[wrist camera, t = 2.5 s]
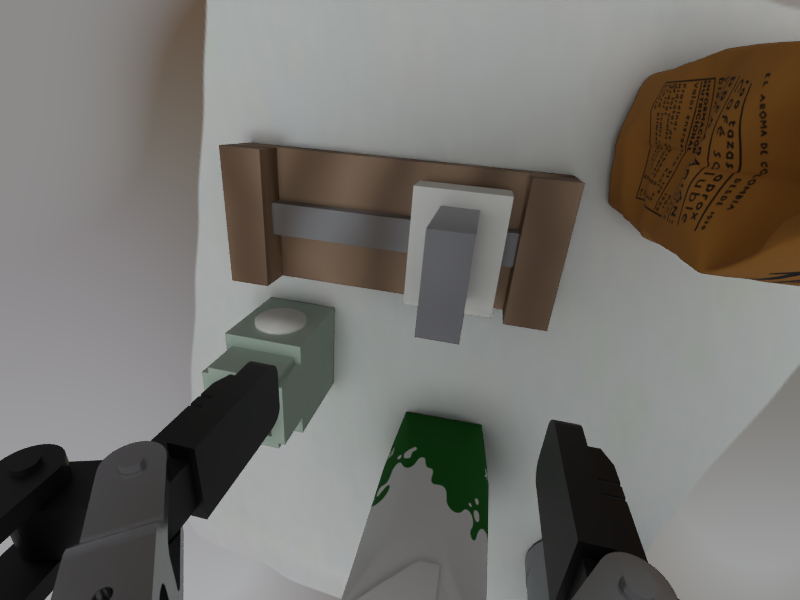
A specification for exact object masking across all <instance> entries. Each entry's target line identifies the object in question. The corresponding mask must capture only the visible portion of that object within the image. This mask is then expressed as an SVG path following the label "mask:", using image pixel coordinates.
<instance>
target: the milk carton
mask: <svg viewBox="0 0 800 600" xmlns="http://www.w3.org/2000/svg"><path fill="white" fill-rule="evenodd" d="M487 550H488V475H487V467H486V458H485V450H484V441H483V433H482V425H478V424H472V423H466V422H461V421H455V420H449V419H444V418H438V417H432V416H427V415H421V414H415V413H410V412H406V414H405V417H404V419H403V421H402V424H401V426H400V429H399V431H398V434H397V436H396V439H395V441H394V443H393V446H392V448H391V451H390V453H389V456H388V458H387V461H386V464H385V467H384V470H383V473H382V476H381V479H380V482H379V485H378V488H377V491H376V494H375V497H374V501H373V504H372V507H371V510H370V513H369V516H368V519H367V522H366V526H365V529H364V532H363V535H362V538H361V541H360V544H359V547H358V551H357V554H356V557H355V560H354V563H353V566H352V569H351V573H350V576H349V578H348V581H347V584H346V587H345V590H344V593H343V596H342V599H341V600H486V595H487Z"/></svg>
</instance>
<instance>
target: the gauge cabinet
mask: <svg viewBox="0 0 800 600" xmlns="http://www.w3.org/2000/svg"><path fill="white" fill-rule="evenodd" d="M225 335H226V344H227V351H226V352H225V353H224V354H223V355H221V356H220V357H219V358H218V359H217V360H215V361H214V362H213V363H212V364H211V365H210V366H208V367H207V368H206V369H205V370H204V371H203V372H202V376H203V382H204V389H205V390H206V389H207V388H208V387H209V386H210V385H211V384H213V383H214V382H216V381H218V380H220V379H222V378H224V377H226V376H227V375H229V374H232V375H236V374H237V373H238V372H239V371H240V370H241V369H242V368H243V367H244V366H245V365H246V364H247V363H248V362H250V361H254V362H259V363H264V364H270V365H274V366H276V368H277V371H278V385H279V402H280V410H279V415H278V419H277V421H276V424H275V425H274V427H273V429H272V430H271V431H270V433H269V434H268V436H267V437H266V438H265V440H264V441H263V442H262V444H261V445H266V446H270V447H274V448H279V447H280V446H281V444H284V445H285V444H286V442H287V441H288V439H289V438H290V436H291V434H292V433H293V431H298V432H302V433H303V431H304V430H305V428H306V426H307V425H308V423H309V422H310V420H311V418H312V417H313V415H314V414H315V412H316V410H317V409H318V407H319V405H320V404H321V402H322V401H323V399H324V397H325V396H326V394H327V393H328V391H329V389H330V388H331V386H332V384H333V382H334V308H332V307H326V306H320V305H314V304H308V303H302V302H296V301H290V300H284V299H278V298H272V297H271V298H270V299H268V300H267V301H266V302H265V303H263V304H262V305H261V306H260V307H258V308H257V309H256V310H254V311H253V312H252V313H251V314H249V315H248V316H247V317H245V318H244V319H243V320H242V321H240V322H239V323H238V324H237V325H235V326H234V327H233V328H231V329H230V330H229V331H228V332H226V333H225Z"/></svg>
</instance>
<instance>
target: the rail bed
mask: <svg viewBox="0 0 800 600" xmlns="http://www.w3.org/2000/svg"><path fill="white" fill-rule="evenodd" d="M219 150H220V160H221V170H222V180H223V191H224V201H225V211H226V221H227V231H228V241H229V251H230V261H231V271H232V280H234V281H240V282H246V283H252V284H259V285H265V286H268V285H270V284H271V283H272V282H274V281H275V280H277V279H278V278H279V277H281V276H282V275H285V276H291V277H298V278H304V279H311V280H317V281H323V282H330V283H336V284H343V285H349V286H355V287H362V288H368V289H375V290H381V291H388V292H394V293H400V294H404V288H405V277H406V266H407V254H408V243H409V232H410V220H411V209H412V198H413V186H414V185H415V184H416V183H418V182H419V181H420V180H422V181H431V182H440V183H449V184H458V185H467V186H476V187H485V188H494V189H504V190H512V191H513V195H514V199H513V204H512V210H511V215H510V220H509V225H508V231H507V236H506V241H505V247H504V252H503V257H502V262H501V268H500V273H499V278H498V284H497V289H496V294H495V299H494V305H493V308H497V309H502V310H503V324H506V325H513V326H519V327H525V328H531V329H537V330H544V331H547V329H548V325H549V321H550V317H551V313H552V309H553V305H554V301H555V298H556V294H557V290H558V286H559V282H560V278H561V274H562V270H563V266H564V262H565V259H566V255H567V251H568V247H569V243H570V239H571V235H572V231H573V227H574V223H575V220H576V216H577V212H578V208H579V204H580V200H581V196H582V192H583V188H584V184H585V183H584V182H582V181H581V180H579V179H578V178H576V177H575V176H573V175H564V174H554V173H544V172H534V171H524V170H514V169H505V168H495V167H485V166H475V165H465V164H455V163H446V162H436V161H426V160H416V159H406V158H396V157H386V156H377V155H367V154H357V153H347V152H337V151H327V150H318V149H308V148H298V147H288V146H278V145H268V144H259V143H240V144H228V145H219Z"/></svg>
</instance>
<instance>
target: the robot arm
mask: <svg viewBox="0 0 800 600" xmlns="http://www.w3.org/2000/svg"><path fill="white" fill-rule="evenodd" d="M279 410H280V402H279V385H278V371H277V368H276V366H274V365H270V364H264V363H259V362H254V361H250V362H248V363H247V364H246V365H245V366H244V367H243V368H242V369H241V370H240V371H239V372H238V373H237V374H236V375H232V374H229V375H227V376H226V377H224V378H222V379H220V380H218V381H216V382H214V383H213V384H211V385H210V386H209V387H208V388H207V389H206V390H205V391H204V392H203V393H202V394H201V396H200V397H197V398H196V399H195V400H194V401H193V402H192V403H191V406H188V407H187V408H186V409H185V410H184V411H183V412H181V413H180V414H179V415H178V416H177V417H176V418H175V419H174V420H173V421H172V422H171V423H170V424H169V425H168V426H166V427H165V428H164V429H163V430H162V431H161V432H160V433H159V434H158V435H157V436H156V437H155V438H153V439H152V440H151V441H141V442H135V443H132V444H128V445H126V446H123V447H121V448H119V449H117V450H115V451H114V452H112V453H111V454H109V455H108V456H107V457H106V458H105V459H104V460H97V461H76V462H69V461H68V458H67V456H66V453H65V450H64V449H63V448H62V447H60V446H58V445H53V444H43V445H36V446H31V447H28V448H25V449H22V450H20V451H17V452H15V453H13V454H11V455H9V456H7V457H5V458H4V459H2V460H1V461H0V544H1V543H2V542H3V541H4V540H5V539H6V538H8V537H9V536H11V538H12V540H13V543H14V544H13V545H12V546H11V547H10V548H9V549H8V550H6V551H5V552H4V553H3V554H2V555H1V556H0V600H45V598H46V597H47V596H48V595H49V594H50V593H51V592H52V591H53V593H52V597H51V600H183V565H184V564H183V561H184V559H183V558H184V557H183V555H184V550H183V547H184V543H183V541H184V532H183V524H184V523H185V522H186V521H187V519H188V518H189V517H190V515H192V516H196V517H200V518H204V519H208V517H209V516H210V515H211V513H212V512H213V510H214V509H215V508H216V506H217V505H218V503H219V502H220V501H221V499H222V498H223V497H224V495H225V494H226V492H227V491H228V490H229V488H230V487H231V485H232V484H233V483H234V481H235V480H236V478H237V477H238V476H239V474H240V473H241V472H242V470H243V469H244V467H245V466H246V465H247V463H248V462H249V460H250V459H251V458H252V456H253V455H254V454H255V452H256V451H257V449H258V448H259V447H260V445H261V444H262V442H263V441H264V440H265V438H266V437H267V436H268V434H269V433H270V431H271V430H272V429H273V427H274V425H275V424H276V421H277V419H278V415H279ZM536 488H537V497H538V506H539V514H540V523H541V532H542V540H543V541H540V542H539V543H537V544H536V545H534V546H533V547H532V548H531V549H530V550H529V552H528V554H527V556H526V560H525V568H526V587H527V598H528V600H679V599H678V598H677V596H676V594H675V592H674V590H673V588H672V587H671V585H670V584H669V582H668V581H667V580H666V579H665V577H664V576H663V575H662V574H661V573H660V572H659V571H658V570H657V569H655V568H654V567H653V566H652V565H650V564H649V563H648V561H647V559H646V556H645V553H644V550H643V547H642V544H641V541H640V538H639V536H638V533H637V530H636V527H635V524H634V521H633V518H632V515H631V513H630V510H629V507H628V504H627V502H625V495H624V492H623V490H622V487H620V481H619V478H618V475H617V472H616V469H615V467H614V465H613V464H612V462H611V461H610V460H609V459H608V457H607V456H606V455H605V454H604V453H603V451H602V450H601V449H599V448H594V447H589V446H587V442H586V439H585V435H584V432H583V428H582V426H581V425H578V424H573V423H568V422H562V421H557V420H551V421H550V422H549V425H548V428H547V432H546V435H545V439H544V442H543V446H542V449H541V453H540V456H539V460H538V464H537V471H536Z"/></svg>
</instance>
